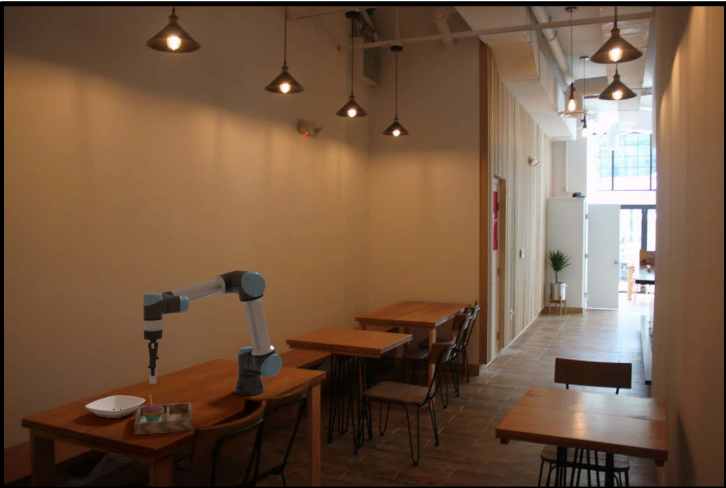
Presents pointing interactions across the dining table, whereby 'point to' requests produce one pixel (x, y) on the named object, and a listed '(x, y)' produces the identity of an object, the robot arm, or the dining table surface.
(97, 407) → the bowl
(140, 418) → the crate
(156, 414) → the cupcake
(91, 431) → the dining table surface
